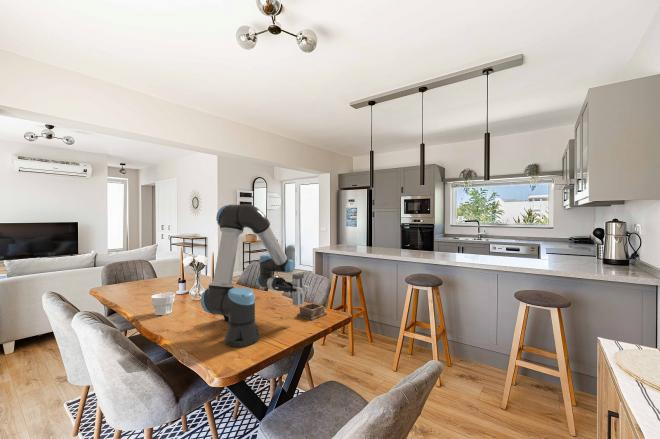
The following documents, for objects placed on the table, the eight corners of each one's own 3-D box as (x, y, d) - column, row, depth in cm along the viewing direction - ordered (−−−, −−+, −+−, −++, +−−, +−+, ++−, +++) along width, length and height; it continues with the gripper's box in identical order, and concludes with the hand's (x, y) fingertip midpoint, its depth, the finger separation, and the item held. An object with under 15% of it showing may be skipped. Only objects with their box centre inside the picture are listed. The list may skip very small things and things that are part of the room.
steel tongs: (298, 306, 154) (297, 275, 154) (291, 304, 158) (290, 274, 157) (304, 304, 157) (303, 274, 157) (297, 302, 161) (296, 273, 161)
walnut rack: (312, 320, 159) (312, 311, 159) (297, 315, 167) (297, 307, 167) (326, 314, 168) (326, 305, 168) (311, 310, 176) (311, 302, 176)
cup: (180, 311, 177) (179, 293, 177) (160, 318, 166) (160, 299, 165) (166, 309, 182) (166, 291, 182) (146, 315, 171) (146, 296, 171)
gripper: (288, 287, 175) (316, 293, 160) (264, 293, 162) (292, 301, 147) (288, 274, 175) (316, 279, 160) (264, 279, 162) (292, 286, 147)
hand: (305, 290), depth 153 cm, fingers closed on steel tongs, 4 cm apart
